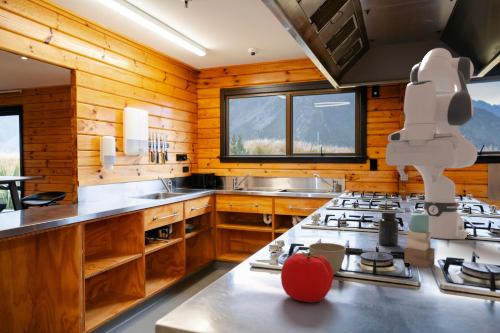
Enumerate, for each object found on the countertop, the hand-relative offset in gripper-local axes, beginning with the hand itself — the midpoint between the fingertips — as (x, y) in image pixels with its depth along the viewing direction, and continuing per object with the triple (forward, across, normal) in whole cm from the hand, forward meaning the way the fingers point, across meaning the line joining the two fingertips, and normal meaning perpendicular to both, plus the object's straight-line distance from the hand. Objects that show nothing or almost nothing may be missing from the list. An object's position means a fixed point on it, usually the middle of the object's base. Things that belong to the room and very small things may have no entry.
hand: (419, 181), depth 105 cm
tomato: (+25, +3, +46) cm, 53 cm away
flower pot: (+25, +12, +28) cm, 39 cm away
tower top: (+20, 0, 0) cm, 20 cm away
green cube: (+15, 0, 0) cm, 15 cm away
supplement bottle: (+25, +19, -16) cm, 35 cm away
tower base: (+25, 0, 0) cm, 25 cm away
